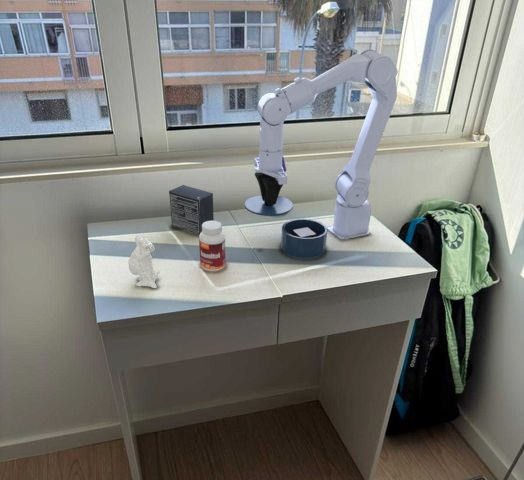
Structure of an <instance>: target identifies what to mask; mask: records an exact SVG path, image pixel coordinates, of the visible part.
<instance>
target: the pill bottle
mask: <svg viewBox="0 0 524 480" xmlns="http://www.w3.org/2000/svg"><path fill="white" fill-rule="evenodd" d="M222 230H223V224H222V223H221V222H220V221H218V220H214V221H206V222H204V223H203V224H202V232H201V233H200V235H198V243H199V244H198V245H199V265H200V268H202V269H203V270H205V271H213V272H214V271H220V270H222V269H224V268H225V266H226V235H225V233H224V232H223V231H222Z"/></svg>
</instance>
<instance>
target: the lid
mask: <svg viewBox="0 0 524 480" xmlns="http://www.w3.org/2000/svg"><path fill="white" fill-rule="evenodd" d="M244 208H245V209H246V211H248V212H249V213H251V214H254V215H258V216H261V217H262V216H263V217H277V216H283V215H286V214H289V213H290V212H291V211H292V210H293V209H294V203H293V202H292V201H291V200H290V199H288V198H287V197H283V196H281V195H280V196H278V198H277V201H276V204H275V205H268V204H267V197H266V190H265V197H264V201H263V200H262V196H261V194H260V195H255V196H252V197H250V198H247V199H246V200H245V202H244Z"/></svg>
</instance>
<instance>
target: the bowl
mask: <svg viewBox="0 0 524 480" xmlns="http://www.w3.org/2000/svg"><path fill="white" fill-rule="evenodd" d="M306 227H308V228H309V229H310V230H312V231H313V232H314V233H315V234H316V237H313V238H302V237H296V236H293V235H292V231H293V230H295V229H300V228H306ZM327 227H328V226H326V225H325V224H324V223H322V222H320V221H318V220H315V219H311V218H296V219H295V218H294V219H290V220H287V221H285V222H284V223H283V224H282V226H281V234H280V235H281V236H280V248H281V251H283V253H285V254H286V255H288V256H290V257H294V258H297V259H298V258H299V259H312V258H313V259H314V258H316V257H320V256H321V255H323V254H324V253H325V252H326V248H327V247H326V246H327V238H328V230H329V229H327Z"/></svg>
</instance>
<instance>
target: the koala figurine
mask: <svg viewBox="0 0 524 480" xmlns="http://www.w3.org/2000/svg"><path fill="white" fill-rule="evenodd" d="M134 243H135V248H134V249H133V251H131V254H130V256H129V259H128V270H129V272H130V273H131V275H133V276H138V278H137V280H138V281H137V282H136V283H135V285H136V287H137V286H138V287H149V288H153V289H156V288H157V287H158V286H157V283H155V282H156V281H157V278H158V276H159V274H160V271H159V270H154V266H153V262H152V261H153V256H152V255H151V254H152V253H153V252H154V251H155V250H156V248H155V246H154V243H152V242H151V241H150V240H148V238H146V237H141V236H135V238H134Z"/></svg>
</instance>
